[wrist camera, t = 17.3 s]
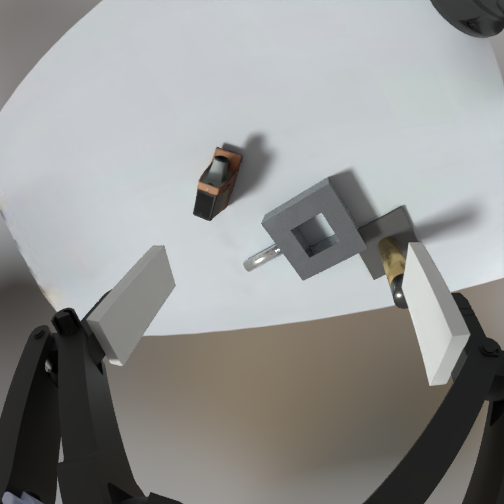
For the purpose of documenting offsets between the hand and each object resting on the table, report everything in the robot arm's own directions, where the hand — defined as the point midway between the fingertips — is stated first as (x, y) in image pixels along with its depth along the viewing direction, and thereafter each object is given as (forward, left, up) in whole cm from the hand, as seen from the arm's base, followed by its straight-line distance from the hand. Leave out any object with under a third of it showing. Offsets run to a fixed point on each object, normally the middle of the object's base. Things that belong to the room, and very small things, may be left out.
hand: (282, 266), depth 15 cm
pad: (-4, +20, -32) cm, 38 cm away
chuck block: (+9, +11, -32) cm, 35 cm away
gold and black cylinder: (-4, +20, -31) cm, 37 cm away
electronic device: (+13, -4, -32) cm, 35 cm away
